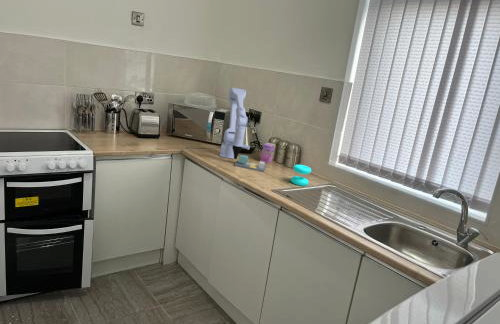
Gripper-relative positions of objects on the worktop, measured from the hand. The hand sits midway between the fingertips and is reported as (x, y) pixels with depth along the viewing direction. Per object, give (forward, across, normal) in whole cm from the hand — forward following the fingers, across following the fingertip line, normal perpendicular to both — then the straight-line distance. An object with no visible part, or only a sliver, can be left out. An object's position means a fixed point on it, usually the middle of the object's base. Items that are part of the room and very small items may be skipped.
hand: (235, 158), depth 232 cm
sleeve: (+1, +5, 0) cm, 5 cm away
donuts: (+3, +40, -15) cm, 43 cm away
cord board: (+3, +10, 0) cm, 10 cm away
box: (+3, +18, +23) cm, 29 cm away
